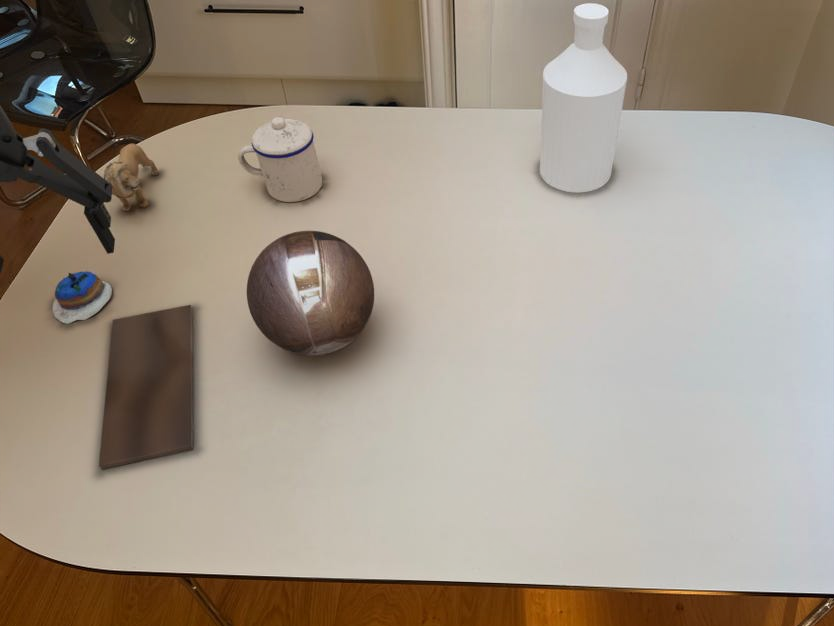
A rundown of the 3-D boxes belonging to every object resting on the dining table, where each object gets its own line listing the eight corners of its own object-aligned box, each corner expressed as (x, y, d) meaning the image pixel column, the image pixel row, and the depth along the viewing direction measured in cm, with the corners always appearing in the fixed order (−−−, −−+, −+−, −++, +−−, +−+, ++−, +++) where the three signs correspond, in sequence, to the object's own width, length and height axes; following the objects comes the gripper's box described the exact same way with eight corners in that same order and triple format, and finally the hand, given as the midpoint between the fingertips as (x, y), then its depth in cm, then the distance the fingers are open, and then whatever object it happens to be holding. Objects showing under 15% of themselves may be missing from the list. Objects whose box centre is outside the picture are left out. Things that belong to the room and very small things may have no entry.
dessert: (96, 267, 99) (88, 255, 93) (125, 305, 99) (119, 295, 94) (41, 299, 96) (30, 288, 91) (72, 337, 97) (63, 329, 91)
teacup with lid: (327, 168, 114) (313, 102, 105) (320, 203, 108) (303, 137, 99) (254, 169, 114) (233, 104, 105) (242, 205, 108) (219, 138, 99)
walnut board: (101, 469, 79) (98, 466, 78) (115, 323, 93) (112, 319, 92) (193, 449, 80) (191, 445, 80) (192, 308, 95) (190, 304, 94)
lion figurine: (155, 220, 107) (131, 170, 100) (119, 226, 106) (92, 176, 99) (160, 164, 116) (139, 115, 109) (127, 169, 115) (103, 120, 108)
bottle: (527, 183, 110) (533, 23, 91) (552, 142, 117) (562, -15, 98) (600, 200, 107) (622, 38, 88) (621, 158, 114) (646, -1, 95)
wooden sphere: (293, 399, 85) (261, 314, 73) (247, 323, 93) (211, 235, 81) (402, 345, 90) (388, 258, 78) (349, 277, 98) (329, 189, 86)
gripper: (-190, 144, 69) (-56, 297, 85) (76, 102, 73) (155, 256, 89) (-166, 105, 74) (-43, 257, 90) (83, 67, 77) (157, 220, 94)
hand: (56, 257), depth 90 cm, fingers open, 13 cm apart
